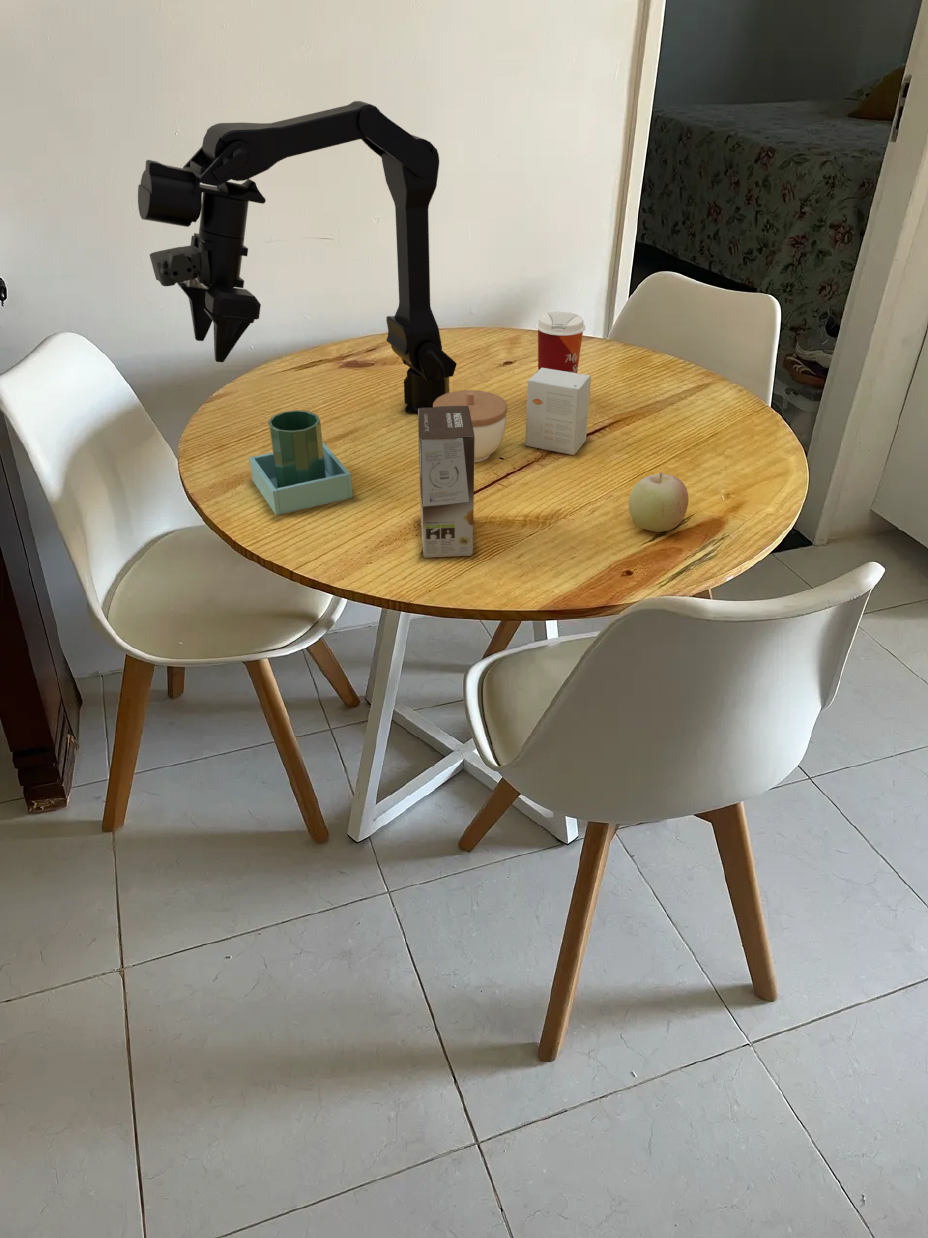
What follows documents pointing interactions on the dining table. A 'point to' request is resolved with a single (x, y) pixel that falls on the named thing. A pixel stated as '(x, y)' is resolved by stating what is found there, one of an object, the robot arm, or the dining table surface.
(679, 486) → the fruit
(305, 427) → the cup
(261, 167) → the robot arm
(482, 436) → the trinket box
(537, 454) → the dining table surface
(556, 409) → the small box
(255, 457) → the bin
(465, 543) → the coffee box
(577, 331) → the paper cup
